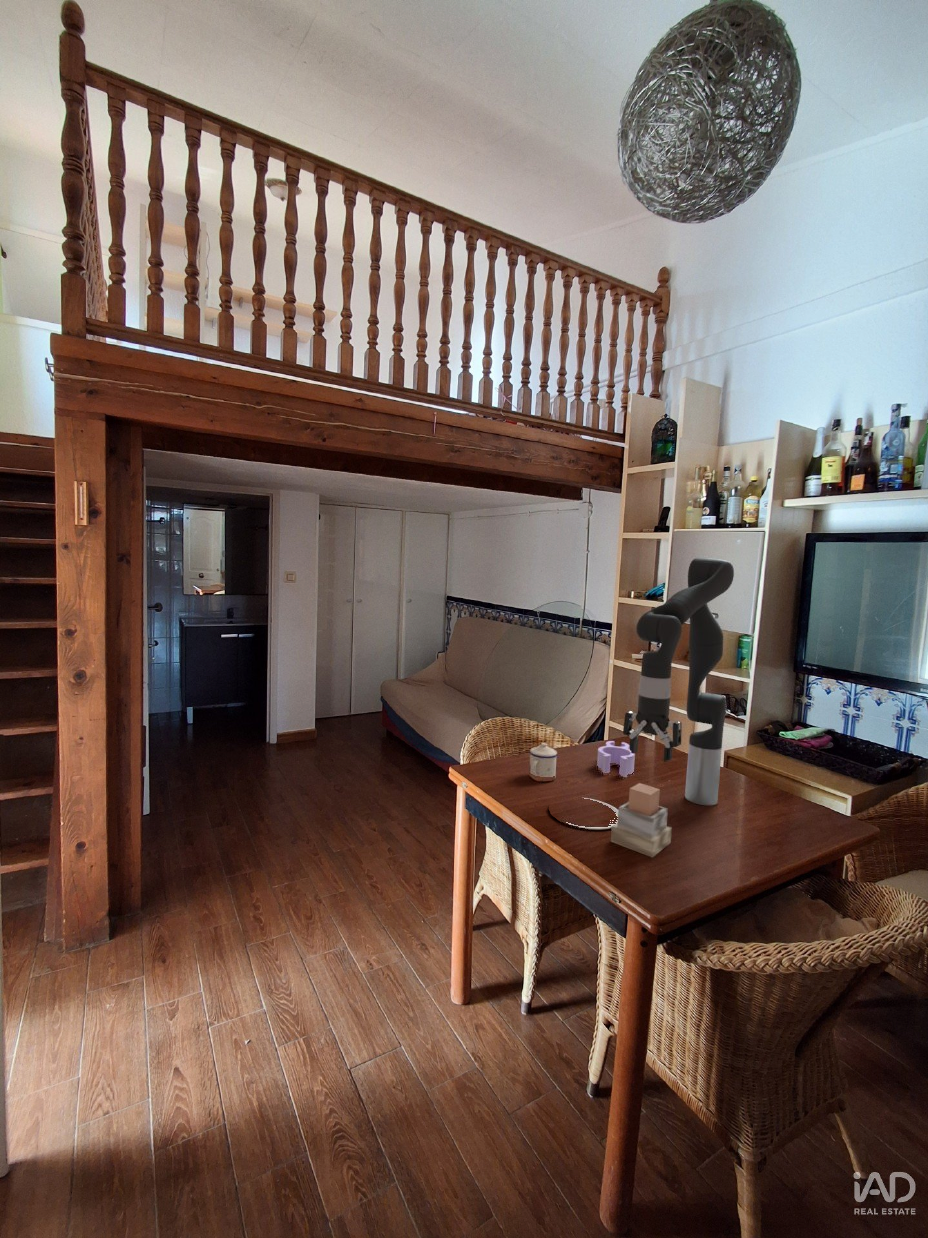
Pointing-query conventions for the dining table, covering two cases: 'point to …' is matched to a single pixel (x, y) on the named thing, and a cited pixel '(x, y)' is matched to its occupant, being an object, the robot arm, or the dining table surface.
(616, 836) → the stepped translucent block
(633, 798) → the top block
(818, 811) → the dining table surface
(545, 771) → the teacup with lid
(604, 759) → the clip
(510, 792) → the dining table surface
